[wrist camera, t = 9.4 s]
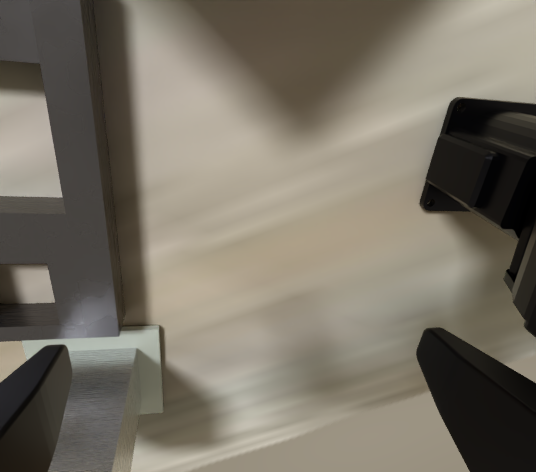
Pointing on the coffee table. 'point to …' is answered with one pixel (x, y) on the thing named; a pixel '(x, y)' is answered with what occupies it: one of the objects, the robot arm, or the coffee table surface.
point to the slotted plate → (64, 181)
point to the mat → (129, 337)
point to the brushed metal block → (100, 412)
